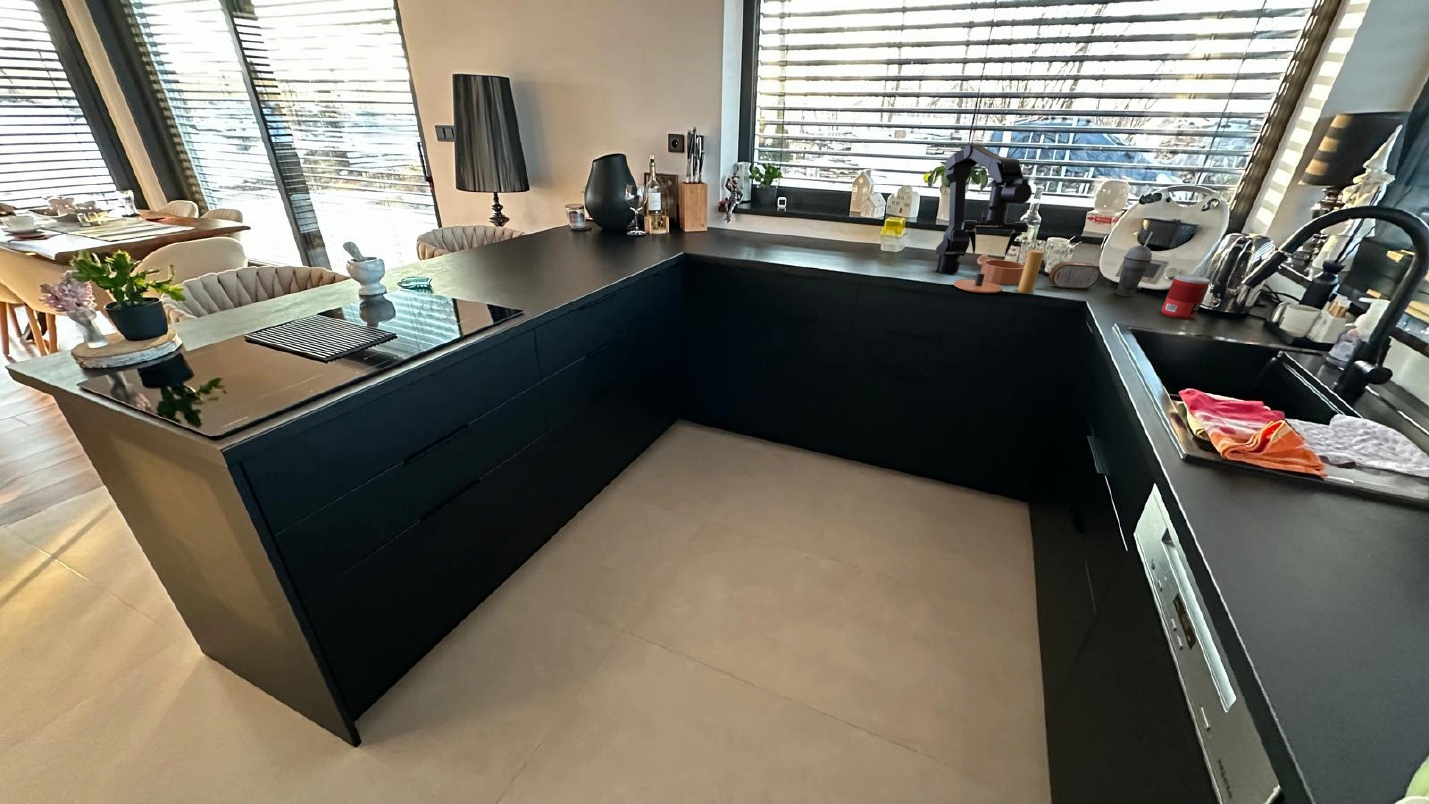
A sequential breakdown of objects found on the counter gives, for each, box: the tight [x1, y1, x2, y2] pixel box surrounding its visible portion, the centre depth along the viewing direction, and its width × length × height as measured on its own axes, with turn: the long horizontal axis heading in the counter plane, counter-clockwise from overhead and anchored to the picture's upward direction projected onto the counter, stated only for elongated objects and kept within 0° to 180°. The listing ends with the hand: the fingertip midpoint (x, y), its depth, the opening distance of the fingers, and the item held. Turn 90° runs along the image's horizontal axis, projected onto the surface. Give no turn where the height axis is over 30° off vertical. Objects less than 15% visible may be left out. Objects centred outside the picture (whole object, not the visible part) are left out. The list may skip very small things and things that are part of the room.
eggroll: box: [1017, 249, 1045, 295], centre depth 178 cm, size 4×4×13 cm
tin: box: [1048, 261, 1101, 290], centre depth 184 cm, size 15×3×8 cm, turn 84°
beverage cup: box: [1116, 231, 1154, 298], centre depth 176 cm, size 7×7×20 cm
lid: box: [953, 271, 1003, 294], centre depth 182 cm, size 15×15×5 cm
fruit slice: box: [976, 253, 997, 268], centre depth 206 cm, size 8×7×5 cm
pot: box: [979, 258, 1025, 286], centre depth 193 cm, size 14×14×6 cm
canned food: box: [1161, 274, 1211, 320], centre depth 159 cm, size 8×8×11 cm
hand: (989, 254), depth 178 cm, fingers open, 9 cm apart
